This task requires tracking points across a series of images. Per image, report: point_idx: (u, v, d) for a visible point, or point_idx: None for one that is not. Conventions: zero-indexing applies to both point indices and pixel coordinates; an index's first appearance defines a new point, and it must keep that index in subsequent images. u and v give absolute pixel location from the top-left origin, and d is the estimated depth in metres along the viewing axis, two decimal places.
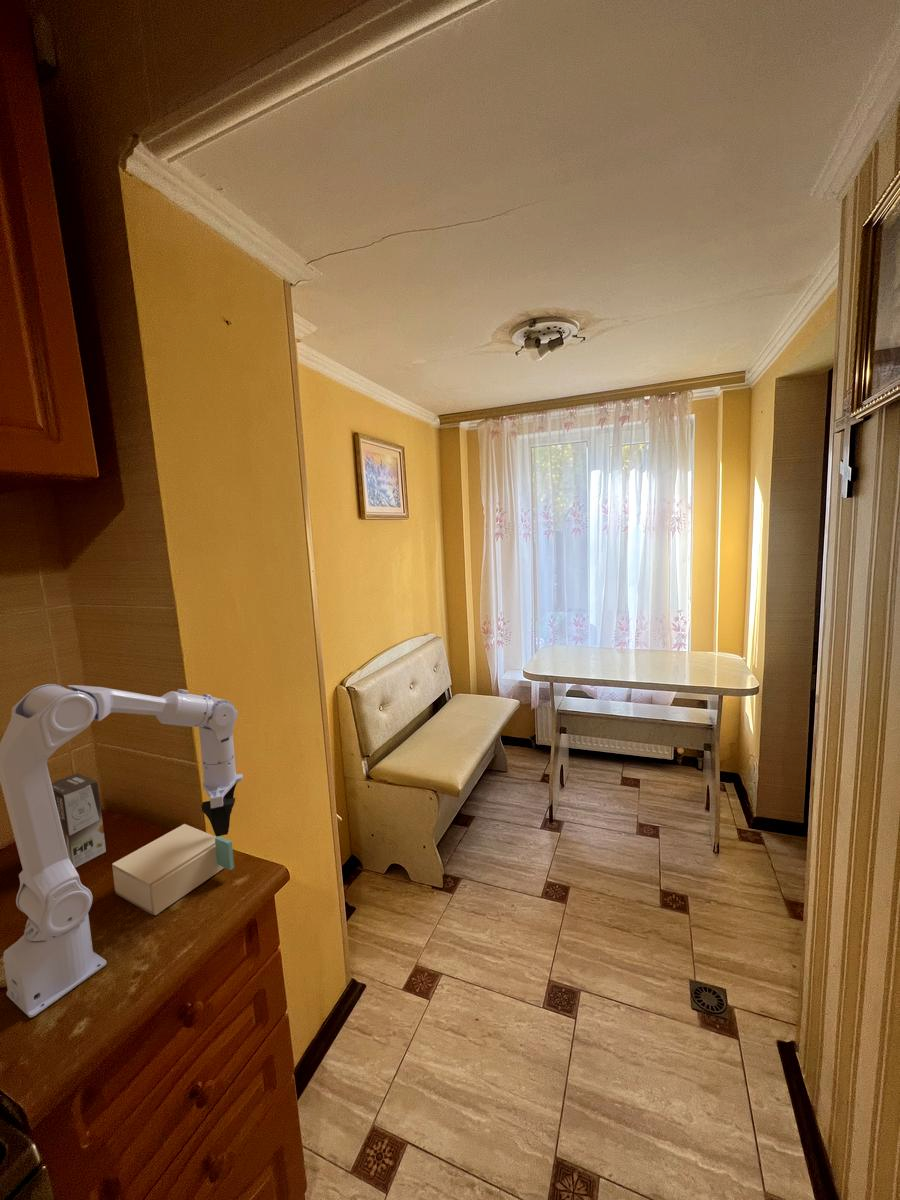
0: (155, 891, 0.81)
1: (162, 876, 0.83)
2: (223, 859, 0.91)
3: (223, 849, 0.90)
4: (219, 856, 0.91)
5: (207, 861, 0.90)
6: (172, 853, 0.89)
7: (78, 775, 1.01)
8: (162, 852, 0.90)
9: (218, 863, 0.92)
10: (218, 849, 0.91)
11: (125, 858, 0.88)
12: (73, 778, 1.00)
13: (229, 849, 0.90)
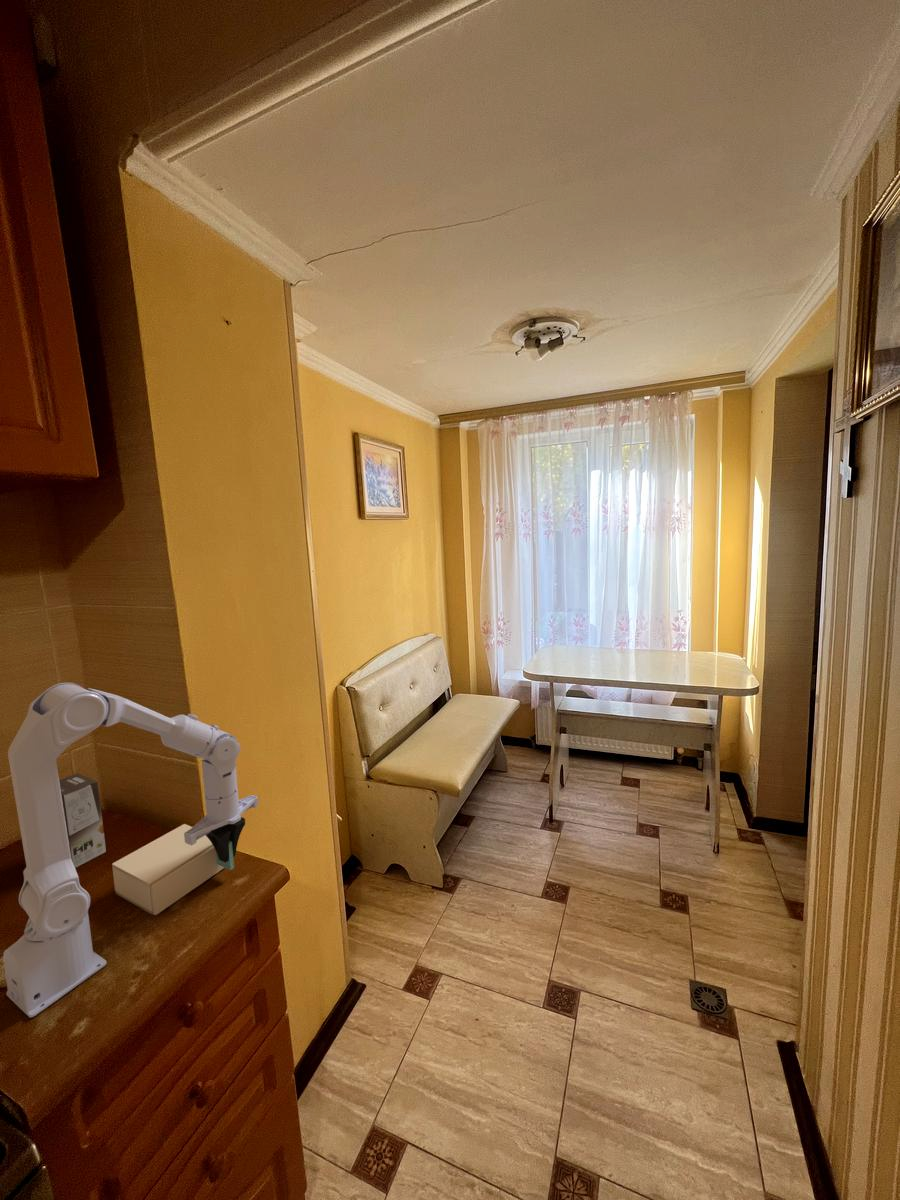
0: (155, 891, 0.81)
1: (162, 876, 0.83)
2: None
3: None
4: None
5: (207, 861, 0.90)
6: (172, 853, 0.89)
7: (78, 775, 1.01)
8: (162, 852, 0.90)
9: (218, 863, 0.92)
10: None
11: (125, 858, 0.88)
12: (73, 778, 1.00)
13: (229, 849, 0.90)
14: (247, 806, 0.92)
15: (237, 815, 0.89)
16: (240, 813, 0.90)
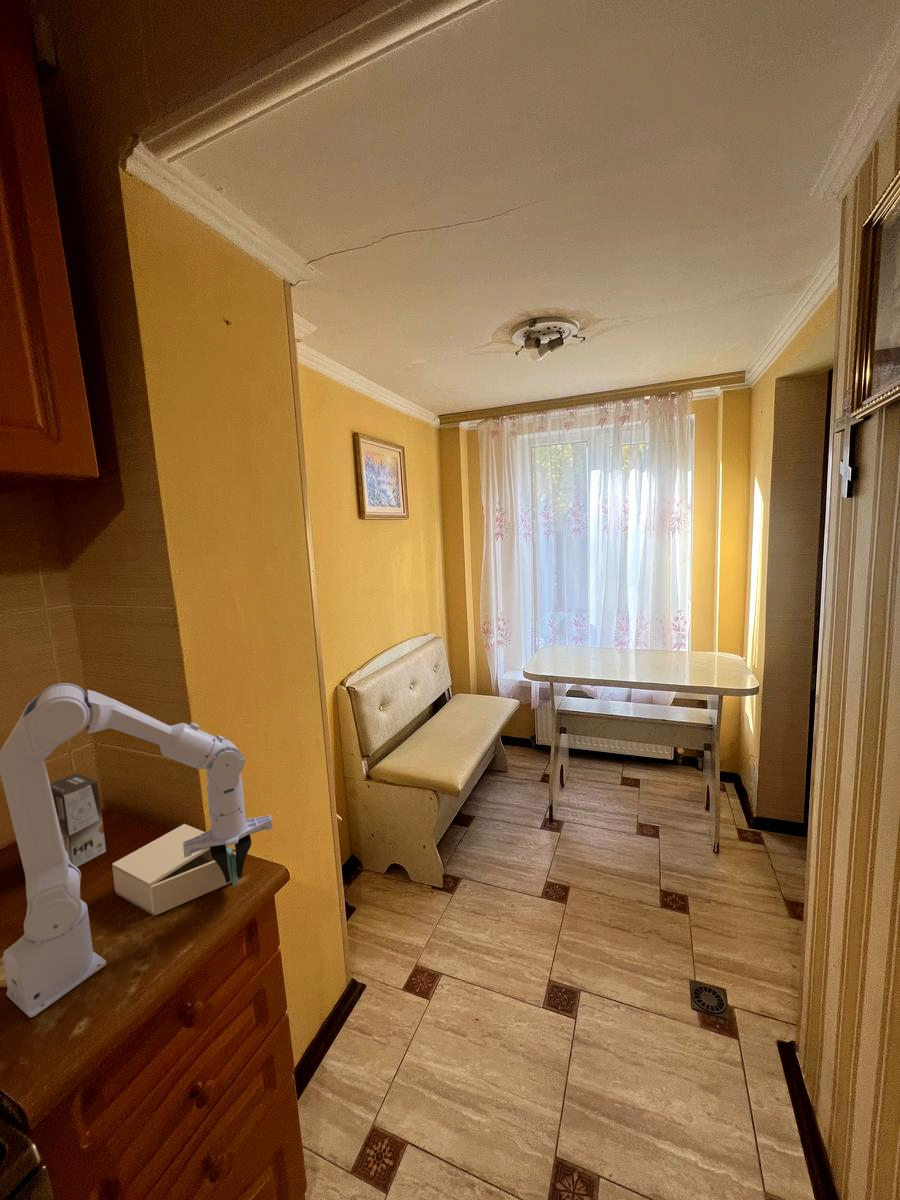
0: (155, 892, 0.81)
1: (162, 876, 0.83)
2: (230, 873, 0.87)
3: (229, 862, 0.86)
4: (228, 868, 0.88)
5: (216, 870, 0.87)
6: (172, 853, 0.89)
7: (78, 775, 1.01)
8: (162, 852, 0.90)
9: None
10: None
11: (125, 858, 0.88)
12: (73, 778, 1.00)
13: (232, 865, 0.85)
14: (254, 828, 0.85)
15: (236, 837, 0.82)
16: (242, 835, 0.83)
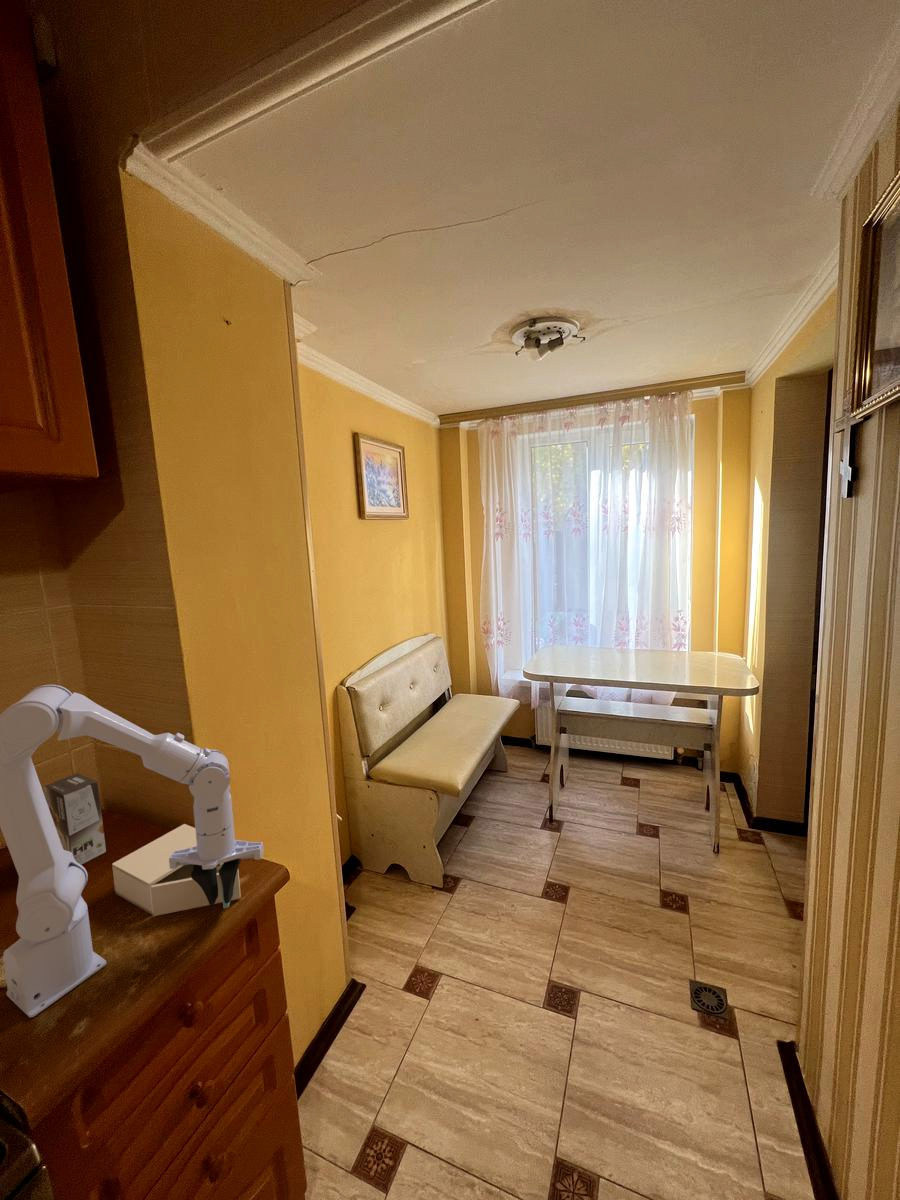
0: (154, 893, 0.81)
1: (162, 876, 0.83)
2: None
3: None
4: None
5: None
6: None
7: (78, 775, 1.01)
8: (162, 852, 0.90)
9: None
10: None
11: (125, 858, 0.88)
12: (73, 778, 1.00)
13: (222, 885, 0.80)
14: (239, 855, 0.77)
15: (214, 861, 0.76)
16: (222, 860, 0.76)
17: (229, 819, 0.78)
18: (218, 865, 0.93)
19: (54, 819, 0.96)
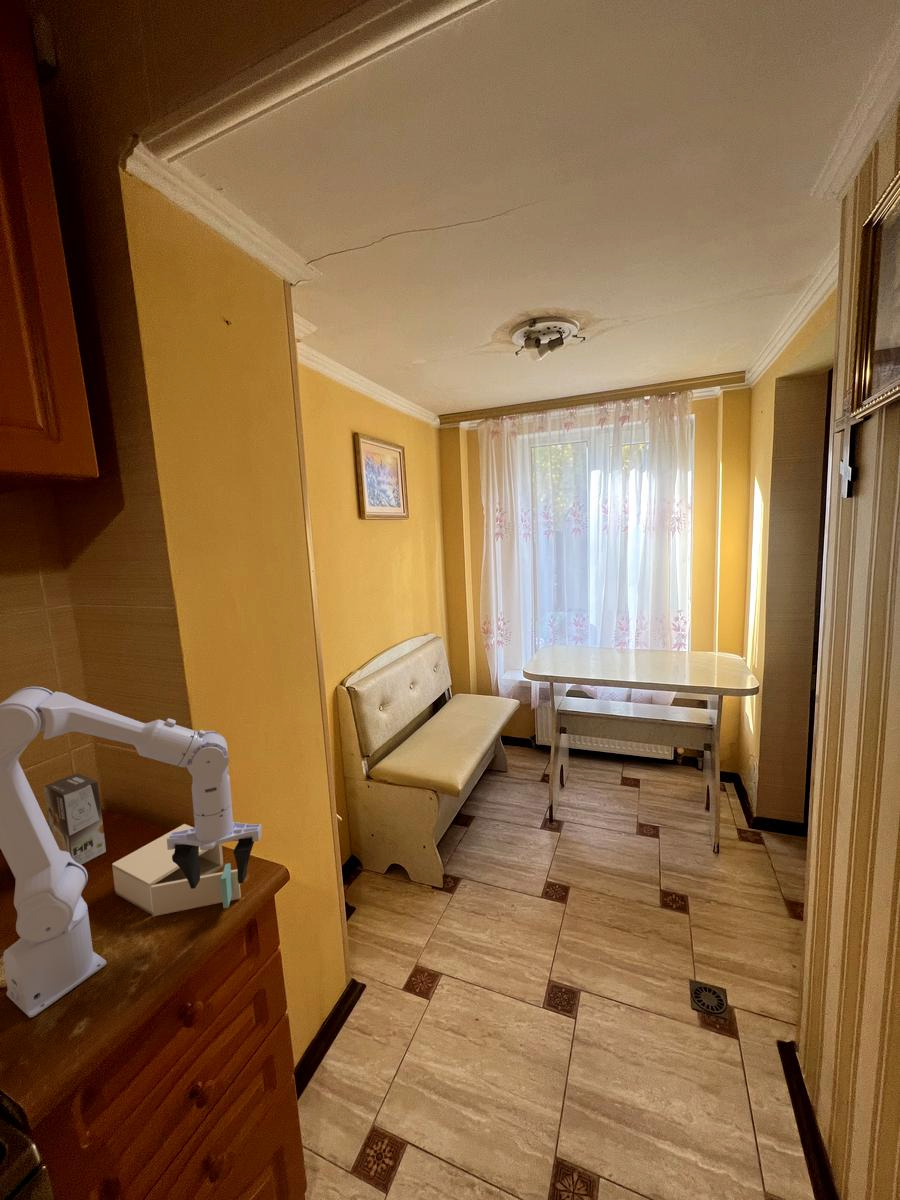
0: (154, 893, 0.81)
1: (162, 876, 0.83)
2: None
3: None
4: None
5: (215, 885, 0.83)
6: (172, 853, 0.89)
7: (78, 775, 1.01)
8: (162, 852, 0.90)
9: None
10: None
11: (125, 858, 0.88)
12: (73, 778, 1.00)
13: (222, 885, 0.80)
14: (237, 836, 0.77)
15: (212, 842, 0.75)
16: (221, 841, 0.76)
17: (227, 800, 0.77)
18: (218, 865, 0.93)
19: (54, 819, 0.96)
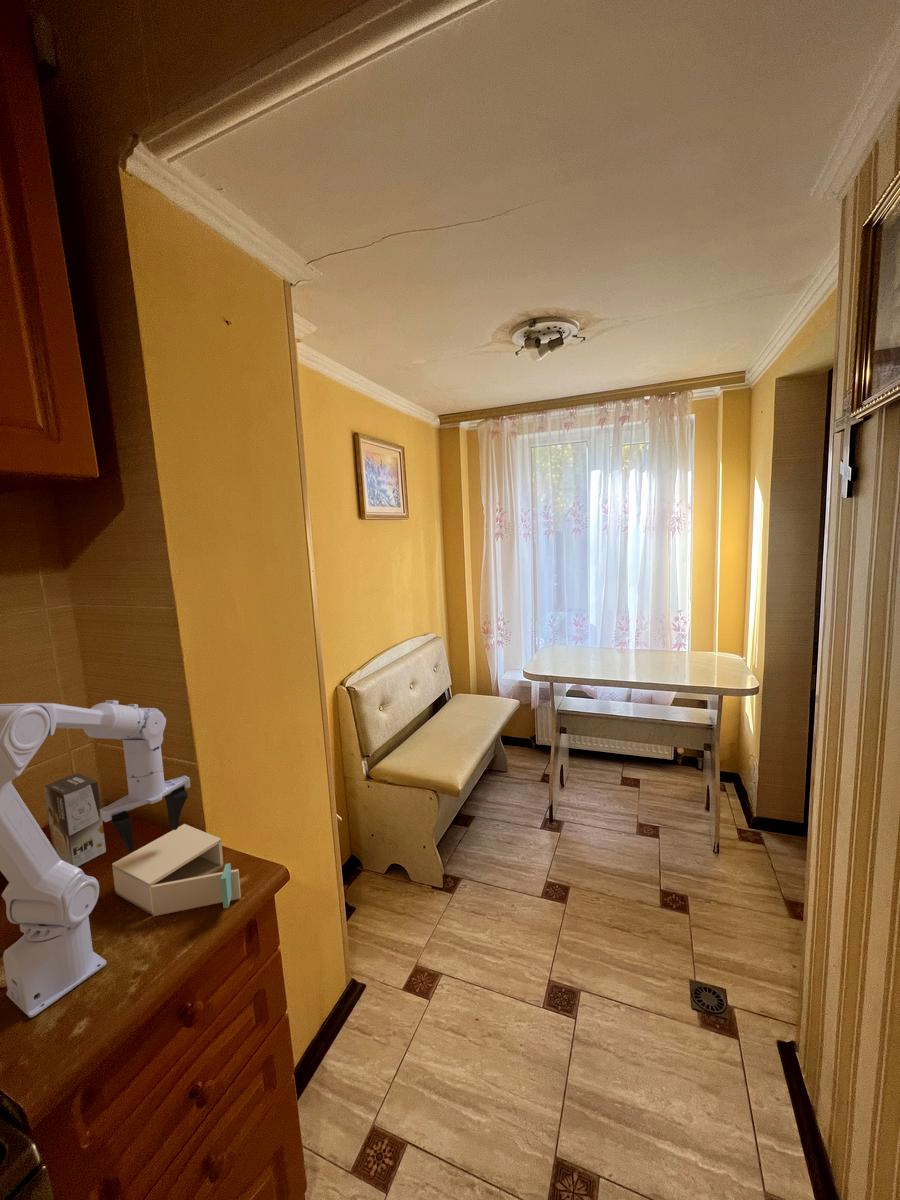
0: (154, 893, 0.81)
1: (162, 876, 0.83)
2: None
3: None
4: None
5: (215, 885, 0.83)
6: (172, 853, 0.89)
7: (78, 775, 1.01)
8: (162, 852, 0.90)
9: None
10: None
11: (125, 858, 0.88)
12: (73, 778, 1.00)
13: (222, 885, 0.80)
14: (174, 787, 0.90)
15: (159, 795, 0.86)
16: (164, 793, 0.88)
17: None
18: (218, 865, 0.93)
19: (54, 819, 0.96)
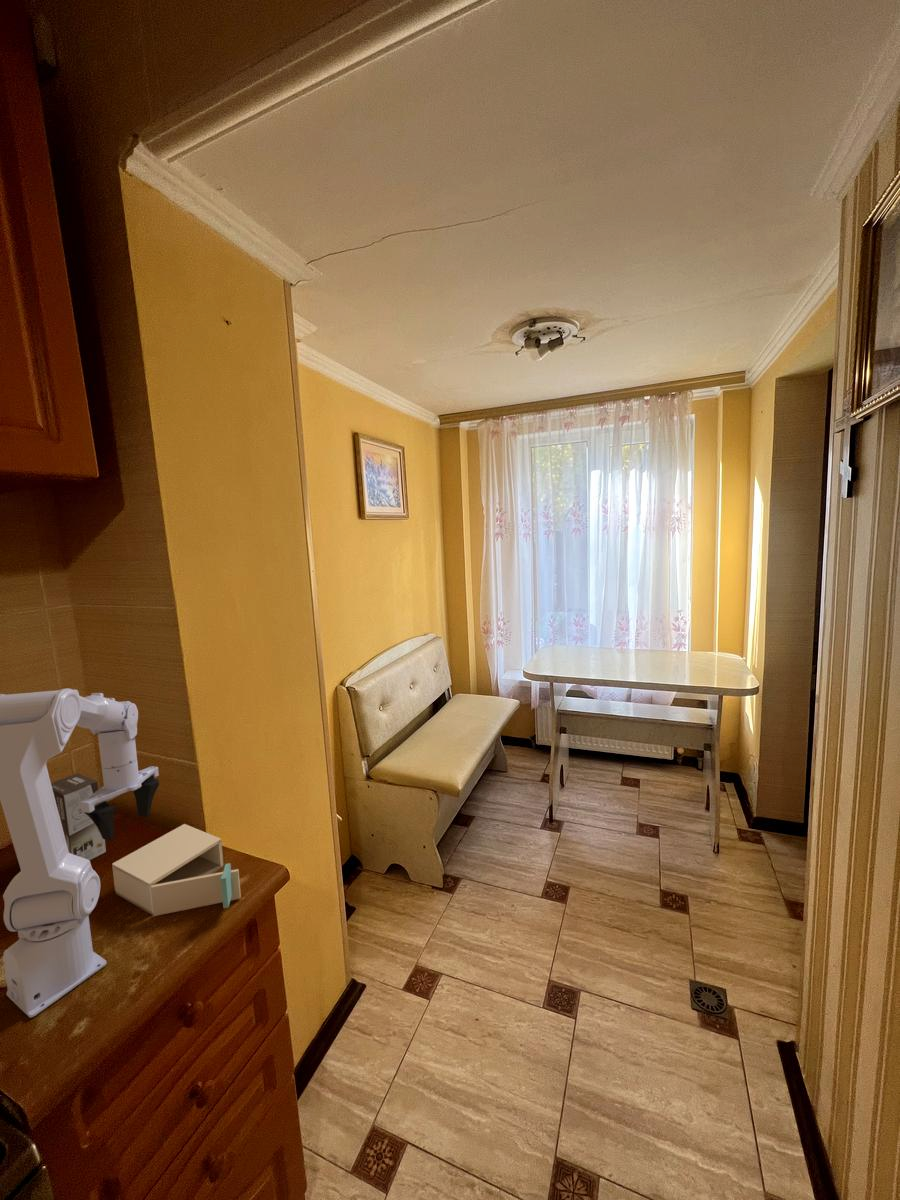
0: (154, 893, 0.81)
1: (162, 876, 0.83)
2: None
3: None
4: None
5: (215, 885, 0.83)
6: (172, 853, 0.89)
7: (78, 775, 1.01)
8: (162, 852, 0.90)
9: None
10: None
11: (125, 858, 0.88)
12: (73, 778, 1.00)
13: (222, 885, 0.80)
14: (147, 775, 0.95)
15: (137, 783, 0.91)
16: (140, 781, 0.93)
17: None
18: (218, 865, 0.93)
19: None
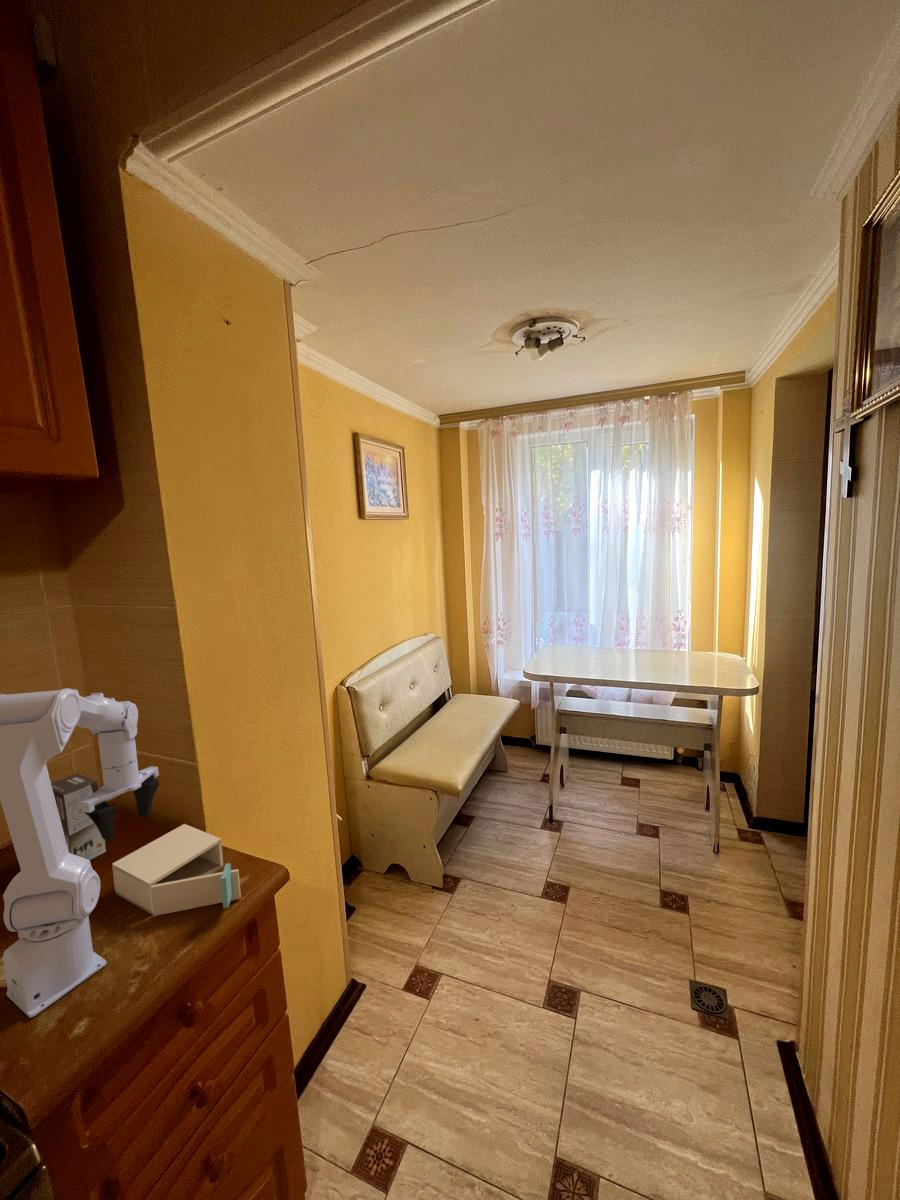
0: (154, 893, 0.81)
1: (162, 876, 0.83)
2: None
3: None
4: None
5: (215, 885, 0.83)
6: (172, 853, 0.89)
7: (78, 775, 1.01)
8: (162, 852, 0.90)
9: None
10: None
11: (125, 858, 0.88)
12: (73, 778, 1.00)
13: (222, 885, 0.80)
14: (147, 775, 0.95)
15: (137, 783, 0.91)
16: (140, 781, 0.93)
17: None
18: (218, 865, 0.93)
19: None
